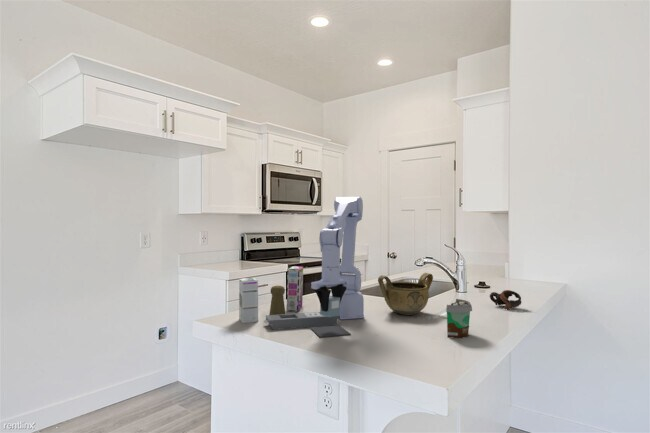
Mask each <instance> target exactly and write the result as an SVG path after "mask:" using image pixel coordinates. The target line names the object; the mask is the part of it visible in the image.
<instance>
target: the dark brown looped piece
mask: <svg viewBox="0 0 650 433" xmlns="http://www.w3.org/2000/svg"><path fill="white" fill-rule="evenodd" d="M512 296H514V297H515V298H516V299H517V300H513V299H510V300H509V298H510V297H512ZM489 298H490V301H491V302H493V303H494V304H495V306H498V305H500V306H503V305H504V309H505V310H506V309H507V310H506V311H509V310H510V309H514V308H517V307H520V306H521V304H522V297H521V295H520V294H519V293H518V292H517V291H514V290H509V289H505V290H503V291H502V292H501V293H498V292H495V291H493V292H491V293H490V294H489Z"/></svg>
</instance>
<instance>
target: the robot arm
mask: <svg viewBox="0 0 650 433" xmlns="http://www.w3.org/2000/svg"><path fill="white" fill-rule="evenodd" d="M333 207H334V208H333V209H334V212H335V213H334V214H333V215H332V216H331V217H330V218H329V221H328V223H327V224H326V227H325V228H323V229H321V230H320V232H319V241H318V242H319V247H320V252H321V279H320V280H316V281H312V282H311V283H310V284H311V286H310V288H311V290H312V289H313V290H314V292H315V294H316V296H317V298H318V301H319V304H320V305H321V309H322V311H325V312H327V311H328V302H329V296H335V297H340V319H339V320H352V319H353V320H355V319H365V316H364V310H365V308H364V304H365V303H364V300H365V299H364V295H363V294H362V292H360V291H361V287H362V273H361V270H359V268H358V267H356V266H355V256H356V255H355V252H356V241H357V240H356V238H357V228H358V227H357V225H358V222H361V221H362V219H363V210H364V204H363V198H362V197H361V196H336V197H335V199H334V203H333ZM341 247H342V249H341ZM341 250H342V251H341ZM328 288H330V289H328ZM320 305H319V306H320Z"/></svg>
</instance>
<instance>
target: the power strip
mask: <svg viewBox="0 0 650 433" xmlns="http://www.w3.org/2000/svg"><path fill="white" fill-rule="evenodd" d="M265 320H266V322H267V323H268V325H269V327H270V329H271V330H287V329H300V328H313V327H326V326H338V320H341V319H340V315H338V316H333V317H327V316H323V315H320V311H316V312H301V313H300V312H299V313H298V312H295V313H285V314H280V315H269V314H268V315H267V314H266V315H265Z"/></svg>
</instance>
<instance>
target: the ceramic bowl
mask: <svg viewBox="0 0 650 433" xmlns="http://www.w3.org/2000/svg"><path fill="white" fill-rule="evenodd" d="M384 280H385V282H386V283H385V284H384ZM433 280H434V276H433V274H432V273H429V272H423V273H422V274H421V275H420V277H419V279H418V282H412V281H391V278H389V277H388V276H387V275H383V274H382V275H381V274H380V275H379V277H378V278H377V283H378V285H379V288H380V290H381V292H382V295H383V298H384V301H385V303H386V305H387V306H388V307H389V309H390V310H392V311H393V312H395V313H397V314H398V315H403V316H411V315H415V314H417V313H420V312H421V311H422V310H424V309H425V307H426V306H427V304H428V301H429V290H430V288H431V285H432V283H433Z"/></svg>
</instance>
